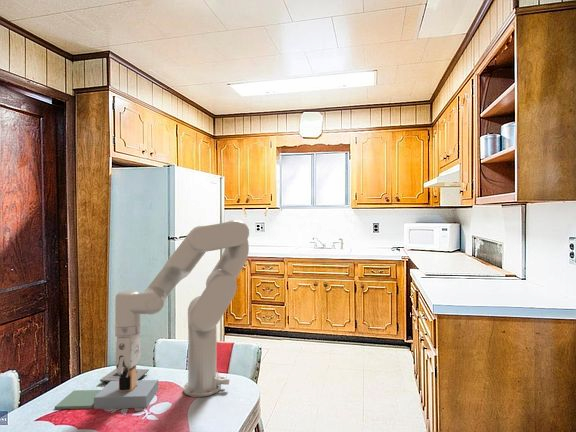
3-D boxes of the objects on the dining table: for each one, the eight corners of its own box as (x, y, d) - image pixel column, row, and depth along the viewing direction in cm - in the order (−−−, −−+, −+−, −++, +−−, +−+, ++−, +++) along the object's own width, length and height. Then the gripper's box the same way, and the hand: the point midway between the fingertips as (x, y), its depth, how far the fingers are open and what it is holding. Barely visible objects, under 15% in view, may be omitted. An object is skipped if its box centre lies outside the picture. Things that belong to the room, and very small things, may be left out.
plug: (136, 396, 123) (136, 362, 123) (131, 401, 119) (131, 367, 119) (123, 396, 123) (123, 362, 123) (118, 402, 119) (118, 367, 119)
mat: (106, 392, 126) (106, 389, 126) (91, 408, 115) (91, 405, 115) (73, 392, 125) (73, 390, 126) (54, 409, 114) (54, 406, 115)
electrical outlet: (149, 375, 141) (149, 368, 141) (135, 387, 131) (134, 380, 131) (116, 373, 142) (116, 367, 142) (99, 385, 132) (99, 379, 132)
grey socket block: (158, 390, 127) (158, 379, 127) (146, 407, 115) (146, 396, 115) (110, 391, 127) (110, 380, 127) (93, 408, 115) (93, 397, 115)
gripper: (129, 337, 113) (129, 398, 113) (148, 322, 130) (147, 375, 129) (104, 337, 113) (104, 398, 112) (126, 323, 129) (126, 376, 129)
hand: (127, 385), depth 121 cm, fingers closed on plug, 4 cm apart
